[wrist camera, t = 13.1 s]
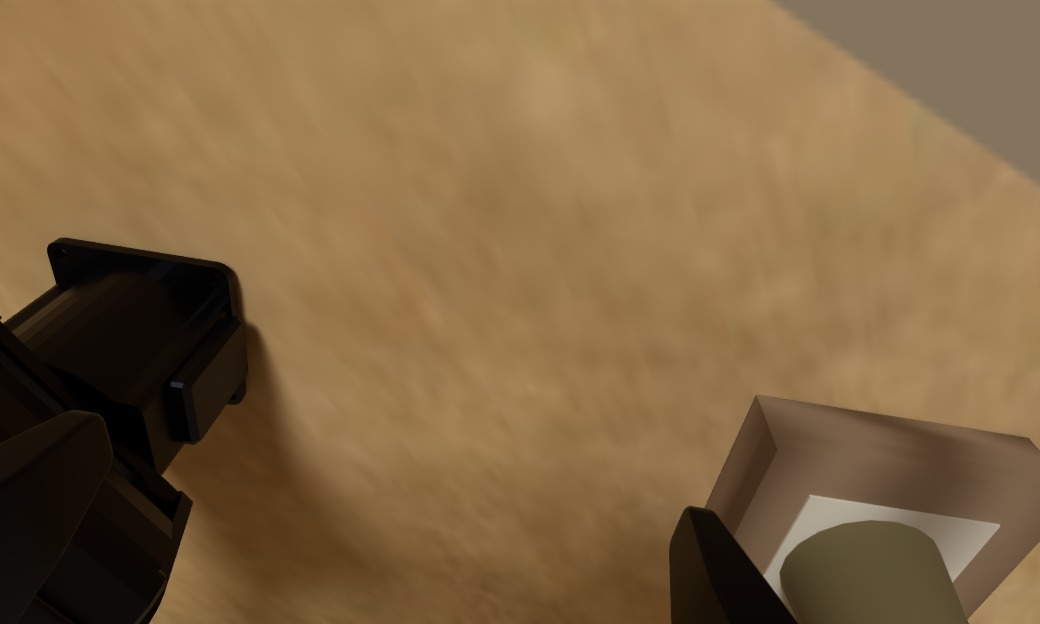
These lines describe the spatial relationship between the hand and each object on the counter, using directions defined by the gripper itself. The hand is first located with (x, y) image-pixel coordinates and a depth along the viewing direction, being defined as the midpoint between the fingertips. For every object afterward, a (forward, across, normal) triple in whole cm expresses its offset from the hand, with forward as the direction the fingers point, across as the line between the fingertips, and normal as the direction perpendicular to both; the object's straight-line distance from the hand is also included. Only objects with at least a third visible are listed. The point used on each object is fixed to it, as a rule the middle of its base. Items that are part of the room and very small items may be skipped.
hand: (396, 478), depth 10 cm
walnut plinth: (+13, -17, +12) cm, 25 cm away
